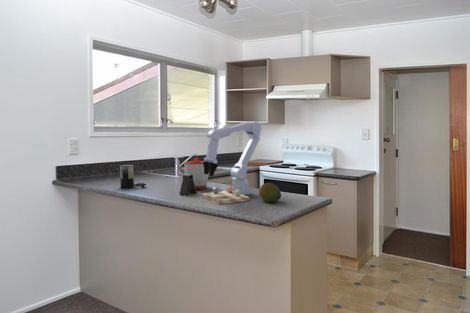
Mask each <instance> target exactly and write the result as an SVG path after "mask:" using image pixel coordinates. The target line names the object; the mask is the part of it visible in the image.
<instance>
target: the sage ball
mask: <svg viewBox="0 0 470 313" xmlns="http://www.w3.org/2000/svg"><path fill="white" fill-rule="evenodd" d="M235 194H236V195H237V196H240V195H241V190H239V189H238V190H236V191H235Z"/></svg>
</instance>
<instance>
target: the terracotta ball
mask: <svg viewBox="0 0 470 313" xmlns="http://www.w3.org/2000/svg"><path fill="white" fill-rule="evenodd" d="M226 191H228V192H232V191H233V188H232V186H228V187H226Z"/></svg>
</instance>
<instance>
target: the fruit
mask: <svg viewBox="0 0 470 313" xmlns="http://www.w3.org/2000/svg"><path fill="white" fill-rule="evenodd" d="M258 194H259V197H260V199H261V200H263V201H265V202H267V203H276V202H278V201H279V200H281V197H282V193H281V191H280V188H279V187H278V186H277V185H276V184H274V183H272V182H265V183H263V184H261V186H260V188H259V190H258Z"/></svg>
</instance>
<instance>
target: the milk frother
mask: <svg viewBox="0 0 470 313" xmlns="http://www.w3.org/2000/svg"><path fill="white" fill-rule="evenodd" d="M119 172H120V174H119V176H120V178H119V179H120V187H124V188H123V189H130V188H129V187H132V188H135V187H137V188H138V186H139V187H141V188H144V187H146V186H147V184H146V183H143V182H142V183H140V182H138V183H135V181H134V180H135V179H134V175H135V174H134V164H120V165H119ZM134 186H135V187H134Z"/></svg>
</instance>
